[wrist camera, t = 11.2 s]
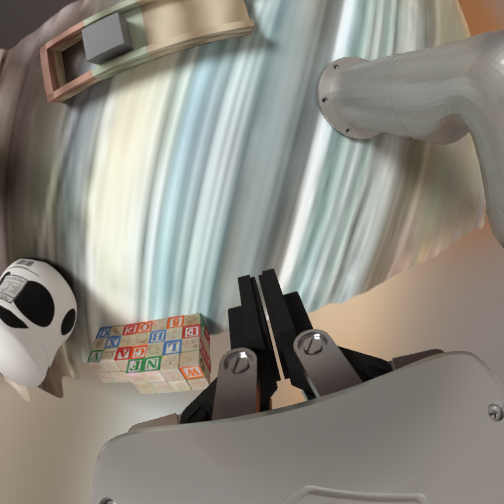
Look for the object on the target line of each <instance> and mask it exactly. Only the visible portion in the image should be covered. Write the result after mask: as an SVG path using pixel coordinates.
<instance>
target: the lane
mask: <svg viewBox="0 0 504 504" xmlns="http://www.w3.org/2000/svg"><path fill="white" fill-rule="evenodd" d="M117 12H118V13H119V14H120V15H121V16H122V17H123V18H124V19H126V20H127V22H128V27H129V32H130V36H131V41H132V45H133V49H134V50H132V51H129V52H127V53H125V54H123V55H120V56H118V57H116V58H114V59H111V60H109V61H107V62H105V63H103V64H101V65H97V64H96V67H97V68H95V69H93V70H91V71H89V72H87V73H85V74H83V75H81V76H80V77H78V78H76V79H74V80H73V81H71V82H69V83H67V81H66V76H65V71H64V65H63V59H62V51H64V50H65V49H67V48H69V47H70V46H72V45H74V44H75V43H77V42H79V41H81V40H83V37H82V30H83V29H85V28H86V27H88V26H90V25H92V24H94V23H96V22H98V21H100V20H102V19H104V18H106V17H108V16H110V15H112V14H115V13H117ZM254 26H255V25H254V21H253V19H251V20H250V19H249V16H248V12H247V9H246V6H245V2H244V0H126V1H124V2H121V3H119V4H117V5H114V6H112V7H110V8H108V9H106V10H104V11H101V12H99V13H97V14H95V15H93V16H91V17H90V18H88V19H86V20H84V21H82V22H80V23H78V24H77V25H75V26H73V27H71V28H70V29H68V30H66V31H65V32H63V33H61V34H60V35H58V36H57V37H55V38H54V39H52V40H51V41H49V42H48V43H46V44H45V45H43V46H42V47H40V57H41V65H42V72H43V78H44V84H45V90H46V95H47V100H48V103H50V102H64V101H65V100H67V99H69V98H71V97H72V96H74V95H76V94H78V93H80V92H81V91H83V90H85V89H87V88H89V87H91V86H93V85H95V84H97V83H99V82H101V81H103V80H105V79H107V78H109V77H111V76H114V75H116V74H118V73H120V72H123V71H125V70H127V69H130V68H132V67H135V66H137V65H140V64H142V63H145V62H148V61H150V60H153V59H156V58H159V57H162V56H165V55H168V54H171V53H174V52H177V51H181V50H184V49H188V48H191V47H195V46H199V45H202V44H206V43H211V42H215V41H219V40H224V39H229V38H234V37H240V36H246V35H251V33H252V31H253V29H254Z"/></svg>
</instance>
